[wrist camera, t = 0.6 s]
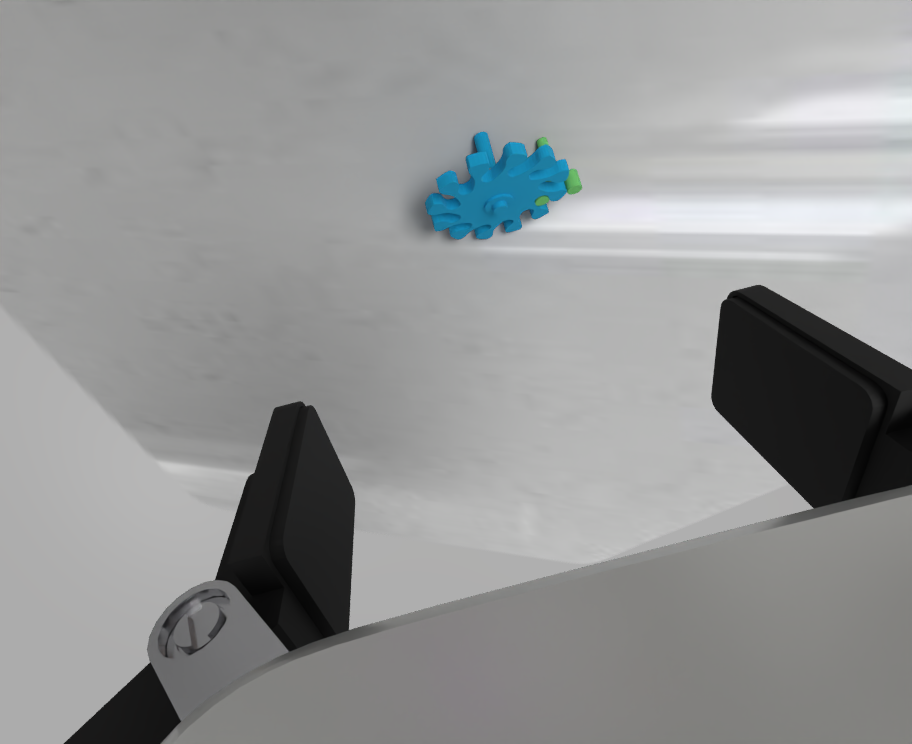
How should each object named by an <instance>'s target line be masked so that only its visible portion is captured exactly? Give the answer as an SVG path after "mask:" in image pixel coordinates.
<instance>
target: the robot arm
mask: <svg viewBox="0 0 912 744" xmlns="http://www.w3.org/2000/svg"><path fill="white" fill-rule="evenodd" d="M711 398H712V402H713V405H714V407H715V409H716V410H717V411H718V412H719V413H720V414H721V415H722V416H723V417H724V418H725V419H726V420H727V421H728V422H729V423H730V424H731V425H732V426H733V427H734V428H735V429H736V430H737V431H738V433H739V434H740V435H741V436H742V437H743V438H744V439H745V440H746V441H747V442H748V443H749V444H750V445H751V446H752V447H753V448H754V449H755V450H756V451H757V452H758V453H759V454H760V455H761V456H762V457H763V458H764V459H765V460H766V461H767V462H768V463H769V464H770V465H771V466H772V467H773V468H774V469H775V470H776V471H777V472H778V473H779V474H780V475H781V476H782V477H783V478H784V479H785V480H786V481H787V482H788V483H789V484H790V485H791V486H792V487H793V488H794V489H795V490H796V491H797V492H798V493H799V494H800V495H801V496H802V497H803V498H804V499H805V500H806V501H807V502H808V503H809V504H810V505H811V506H812V507H813V508H814V509H811V510H807V511H803V512H799V513H795V514H791V515H787V516H783V517H779V518H775V519H771V520H767V521H763V522H759V523H755V524H751V525H747V526H743V527H739V528H735V529H731V530H727V531H723V532H719V533H715V534H711V535H707V536H703V537H699V538H695V539H691V540H687V541H683V542H680V543H676V544H672V545H668V546H664V547H660V548H656V549H652V550H648V551H645V552H641V553H637V554H633V555H629V556H625V557H621V558H617V559H613V560H609V561H606V562H601V563H598V564H594V565H590V566H586V567H582V568H578V569H574V570H571V571H567V572H563V573H559V574H555V575H551V576H548V577H544V578H540V579H536V580H532V581H528V582H525V583H521V584H517V585H513V586H509V587H505V588H502V589H498V590H494V591H490V592H486V593H483V594H479V595H475V596H471V597H467V598H464V599H460V600H456V601H452V602H448V603H444V604H440V605H437V606H433V607H430V608H426V609H423V610H419V611H415V612H412V613H408V614H405V615H401V616H398V617H394V618H390V619H387V620H383V621H380V622H376V623H372V624H369V625H366V626H362V627H358V628H355V629H352V630H349V615H350V595H351V575H352V574H351V573H352V555H353V535H354V516H355V496H354V492H353V489H352V486H351V484H350V482H349V480H348V478H347V476H346V473H345V471H344V469H343V467H342V465H341V463H340V461H339V459H338V457H337V454H336V452H335V450H334V448H333V446H332V444H331V442H330V440H329V437H328V435H327V433H326V431H325V429H324V427H323V425H322V423H321V421H320V418H319V416H318V414H317V412H316V410H315V408H314V407H313V406H312V405H310V406H305V404H304V403H303V402H301V401H299V402H295V403H292V404H288V405H284V406H280V407H276V408H275V409H274V411H273V414H272V417H271V420H270V424H269V427H268V430H267V434H266V437H265V440H264V443H263V447H262V450H261V453H260V457H259V460H258V463H257V467H256V470H255V473H253V474H251V475H250V476H249V477H248V479H247V481H246V484H245V487H244V490H243V493H242V497H241V500H240V503H239V506H238V509H237V512H236V516H235V519H234V522H233V525H232V528H231V531H230V535H229V538H228V541H227V544H226V547H225V550H224V554H223V557H222V560H221V563H220V566H219V569H218V572H217V576H216V579H215V580H214V581H209V582H205V583H203V584H200V585H197V586H195V587H193V588H191V589H190V590H188V591H187V592H185V593H184V594H182V595H181V596H179V597H178V598H177V599H176V600H175V601H174V602H173V603H172V604H171V605H170V606H169V607H167V608H166V610H165V611H164V612H163V614H162V615H161V616H160V618H159V619H158V621H157V622H156V624H155V626H154V628H153V630H152V632H151V634H150V637H149V642H148V648H147V651H148V656H149V660H150V663H149V664H148V665H147V666H146V667H145V668H144V669H143V670H142V671H141V672H140V673H138V675H136V676H135V677H134V678H133V679H132V680H131V681H130V682H129V683H128V684H127V685H126V686H125V687H124V688H122V689H121V690H120V691H119V692H118V693H117V694H116V695H115V696H114V697H113V698H112V699H111V700H110V701H109V702H108V703H106V704H105V705H104V707H102V708H101V709H100V710H99V711H98V712H97V713H96V714H95V715H94V716H93V717H92V718H91V719H89V720H88V721H87V722H86V723H85V724H84V725H83V726H82V727H81V728H80V729H79V730H78V731H77V732H76V733H75V734H74V735H72V736H71V737H70V738H69V739H68V740H67V741H66V742H65V743H64V744H912V369H910V368H908V367H906V366H905V365H903V364H901V363H899V362H897V361H896V360H894V359H892V358H890V357H889V356H887V355H885V354H883V353H881V352H880V351H878V350H876V349H874V348H873V347H871V346H869V345H867V344H866V343H864V342H862V341H860V340H858V339H857V338H855V337H853V336H851V335H850V334H848V333H846V332H844V331H842V330H841V329H839V328H837V327H835V326H834V325H832V324H830V323H828V322H826V321H825V320H823V319H821V318H819V317H818V316H816V315H814V314H812V313H810V312H809V311H807V310H805V309H803V308H802V307H800V306H798V305H796V304H795V303H793V302H791V301H789V300H787V299H786V298H784V297H782V296H780V295H779V294H777V293H775V292H773V291H771V290H770V289H768V288H766V287H764V286H762V285H755V286H751V287H747V288H744V289H740V290H736V291H732V292H731V293H730V294H729V295H728V297H727V299H726V300H724V301H723V302H722V304H721V309H720V319H719V328H718V338H717V347H716V356H715V366H714V375H713V385H712V394H711Z"/></svg>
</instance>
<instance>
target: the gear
mask: <svg viewBox="0 0 912 744" xmlns="http://www.w3.org/2000/svg"><path fill="white" fill-rule="evenodd" d="M474 141H475V145H476V149H477V152H478V153H474V154H471V155H468V156H467V157H466V163H467V167H468V171H469V174H470V175H471V178H470V180H469V181H468V182H466V183H464V184H459V183H458V179H457V175H456V173H455V172H454V171H448V172H446V173H444V174H442V175H441V176H440V177H438V178H437V179H436V180H437V184H438V189H439V192H440V193H441V194H444V195H451V196H454V197H455V198H453V199H445V198H444V197H443V196H442V195H441V194H439V193H432V194H431V195H429V197H428V198H427V200H426V202H425V205H426V209H427V214H429V215H431V217H432V221H433V225H434V229H435V231H442V230H445V229H446V228H448V227H449V231H450V235H451V237H453V238H455V239H462V238H463V237H465V236H466V235H467V234H468V233H469V232H470V231H472V230H475V234H476V238H478V239H488V238H490V237H491V236H492V235H493V231H494V229H495V228H496V227H497V226H498V225H499V224H500V223H502V222H503V223H504V227H505V231H506V232H512V231H516V230H519V229H521V228H522V224H521V221H520V215H521V213H522V212H523V211H525V210H529V209H530V213H531V216H532V218H533V219H537V218H540V217H542V216H544V215H545V214H547V213H549V211H548V207H547V204H546V203H548V201H549V199H550V200H551V201H558V200H559V199H561V198H562V197H563V196H564V195H565V194H566V192H567V193H568V194H575V193H577V192H579V191H580V190H581V189H582V185H581V182H580V179H579V176H578V173H577V170H576V169H570V170H569V168H568V165H567V162H566V160H565V159H562V160H558V161H556V160H555V156H554V153H553V150H552V148H551V147H550V146H549V145H548V142H547V139H546V138H545V137H542V138H540V139H538V141H537V145H538V149H537V150H536V151H535V152H534V153H533V154H532V155H531V156H529V157H528V158H527V153H526V149H525V146H524V144H522V143H516V142H509V143H508V144H506V145H505V147H504V148H503V154H502V157H501V159H500V160H499V161H498V162H497V163H495V159H494V156H493V152H492V148H491V145H490V141H489V138H488V134H487V133H486V132H480V133H478V134H476V135H475V136H474ZM566 189H567V190H566Z"/></svg>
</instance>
